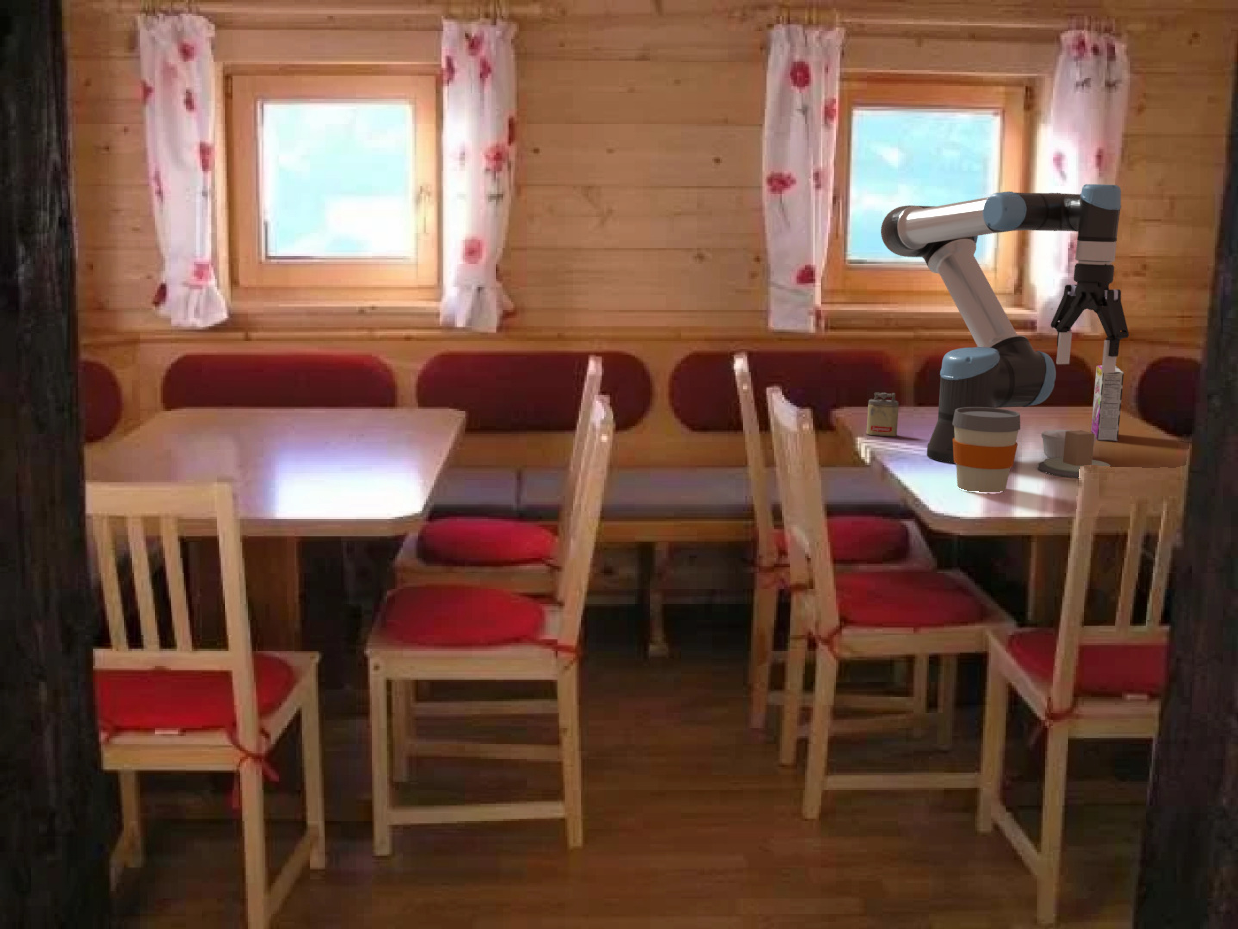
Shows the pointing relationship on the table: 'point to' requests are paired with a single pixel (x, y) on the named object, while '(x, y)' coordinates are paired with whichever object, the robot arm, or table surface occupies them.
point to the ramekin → (1055, 442)
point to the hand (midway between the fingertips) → (1084, 368)
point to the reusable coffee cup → (984, 447)
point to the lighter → (882, 415)
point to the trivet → (1056, 471)
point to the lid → (1075, 453)
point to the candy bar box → (1107, 404)
